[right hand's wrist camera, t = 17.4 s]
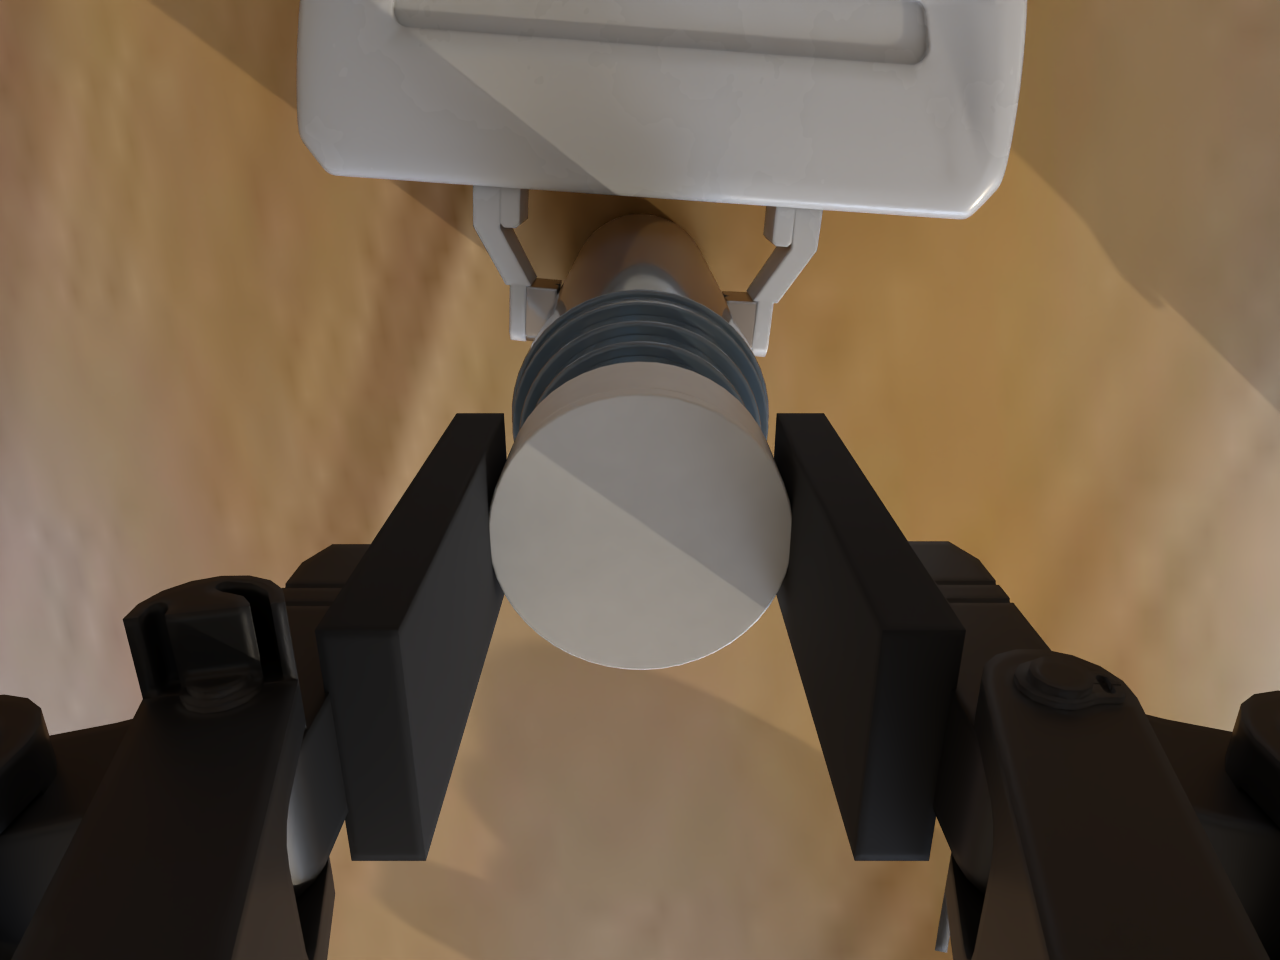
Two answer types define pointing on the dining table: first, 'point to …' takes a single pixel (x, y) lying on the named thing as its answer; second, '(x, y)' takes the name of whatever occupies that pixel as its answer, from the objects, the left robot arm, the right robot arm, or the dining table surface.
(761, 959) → the dining table surface
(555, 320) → the bottle
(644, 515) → the cap
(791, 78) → the left robot arm
